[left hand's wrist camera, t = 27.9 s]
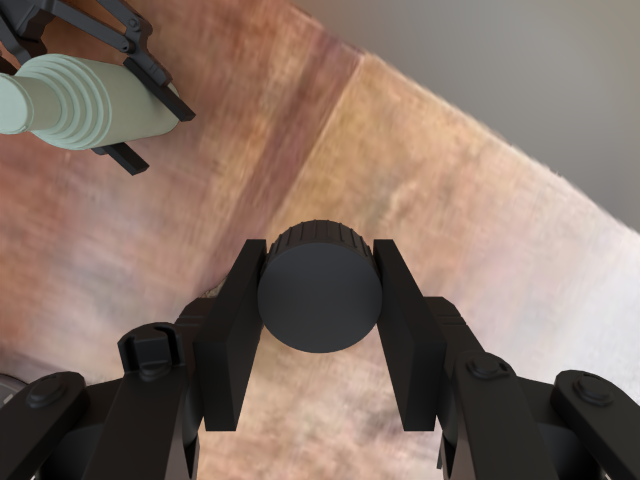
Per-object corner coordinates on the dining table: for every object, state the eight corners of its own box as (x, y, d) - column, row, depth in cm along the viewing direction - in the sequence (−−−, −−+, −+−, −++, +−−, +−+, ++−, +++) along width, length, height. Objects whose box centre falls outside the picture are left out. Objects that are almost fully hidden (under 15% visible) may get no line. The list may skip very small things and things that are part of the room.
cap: (395, 280, 15) (409, 312, 12) (309, 334, 16) (307, 374, 13) (331, 195, 13) (333, 214, 11) (242, 260, 14) (227, 290, 12)
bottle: (108, 95, 39) (-88, 86, 20) (153, 57, 38) (-13, 11, 19) (150, 146, 41) (7, 182, 22) (194, 112, 40) (81, 120, 21)
